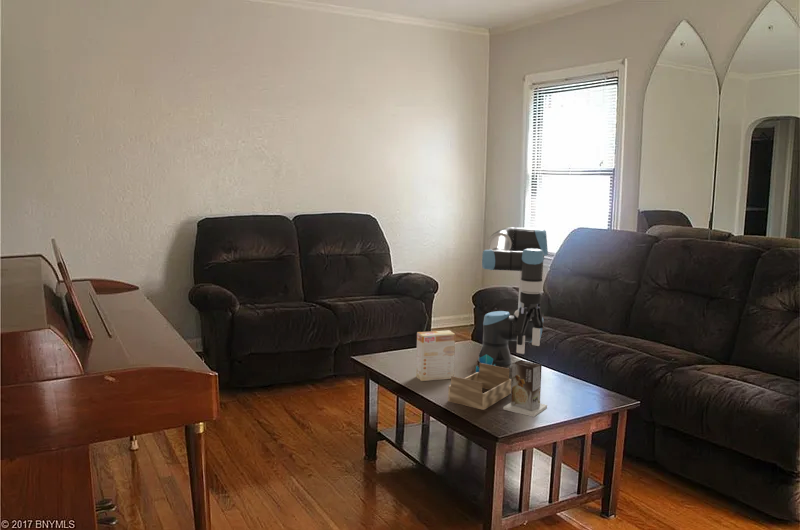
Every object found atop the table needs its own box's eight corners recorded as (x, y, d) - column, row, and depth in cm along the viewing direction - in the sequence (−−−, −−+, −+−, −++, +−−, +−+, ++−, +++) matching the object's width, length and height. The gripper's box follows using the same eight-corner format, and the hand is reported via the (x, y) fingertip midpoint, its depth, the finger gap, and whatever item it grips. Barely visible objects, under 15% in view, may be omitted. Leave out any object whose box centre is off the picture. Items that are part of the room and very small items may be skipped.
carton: (476, 386, 264) (477, 362, 263) (510, 393, 256) (511, 369, 254) (448, 401, 245) (448, 375, 244) (483, 410, 237) (484, 383, 235)
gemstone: (495, 384, 267) (497, 355, 266) (474, 382, 269) (475, 354, 267) (496, 378, 274) (498, 351, 273) (476, 377, 276) (477, 349, 274)
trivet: (517, 400, 248) (517, 398, 247) (546, 407, 241) (547, 404, 241) (503, 409, 238) (503, 406, 238) (534, 416, 231) (534, 414, 231)
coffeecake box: (448, 374, 280) (449, 329, 277) (454, 378, 273) (456, 333, 270) (415, 376, 275) (416, 331, 273) (420, 381, 268) (422, 335, 266)
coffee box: (540, 406, 238) (543, 364, 236) (531, 411, 234) (534, 368, 232) (519, 400, 245) (521, 359, 242) (509, 404, 240) (511, 362, 238)
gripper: (535, 286, 246) (532, 340, 249) (506, 295, 225) (503, 354, 229) (554, 288, 242) (551, 343, 245) (526, 298, 221) (523, 358, 224)
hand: (528, 349), depth 237 cm, fingers open, 13 cm apart
